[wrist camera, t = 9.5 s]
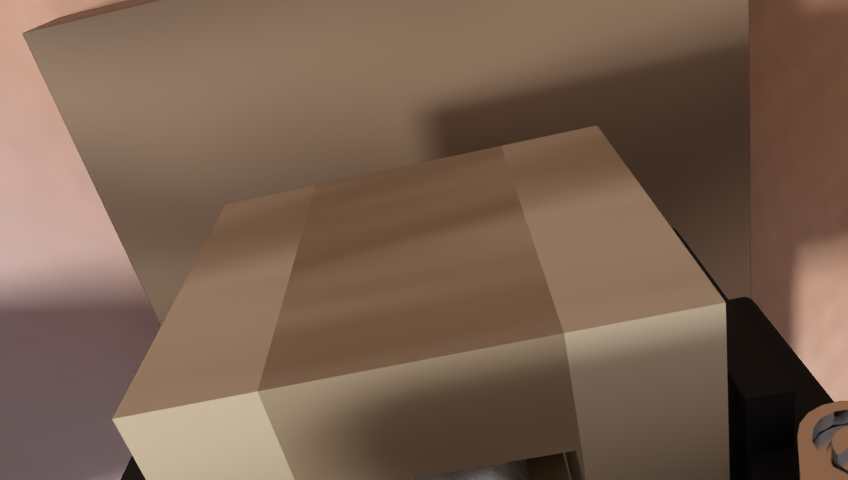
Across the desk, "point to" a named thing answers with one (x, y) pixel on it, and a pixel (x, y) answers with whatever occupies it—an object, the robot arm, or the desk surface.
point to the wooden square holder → (441, 331)
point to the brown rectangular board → (394, 105)
